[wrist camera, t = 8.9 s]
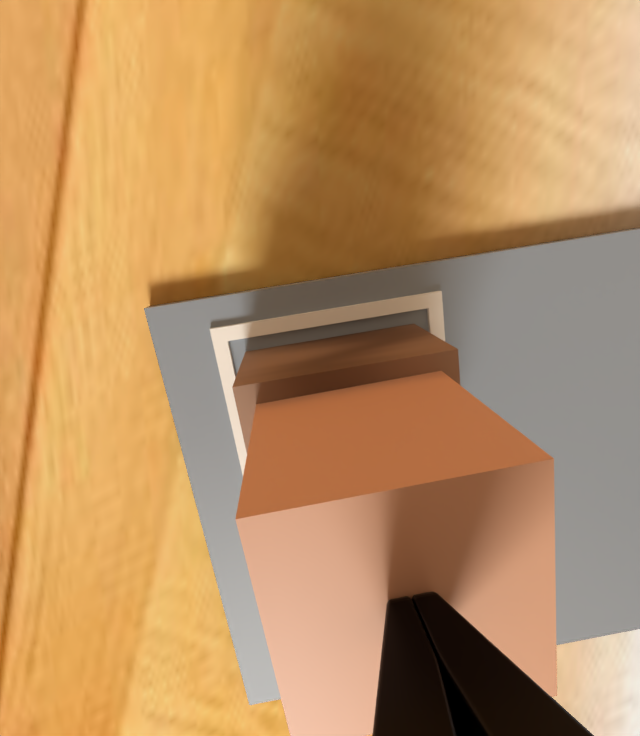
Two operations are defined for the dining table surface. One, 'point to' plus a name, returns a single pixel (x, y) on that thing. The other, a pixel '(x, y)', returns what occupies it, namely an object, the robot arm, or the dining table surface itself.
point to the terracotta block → (391, 536)
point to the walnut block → (337, 366)
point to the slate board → (477, 375)
